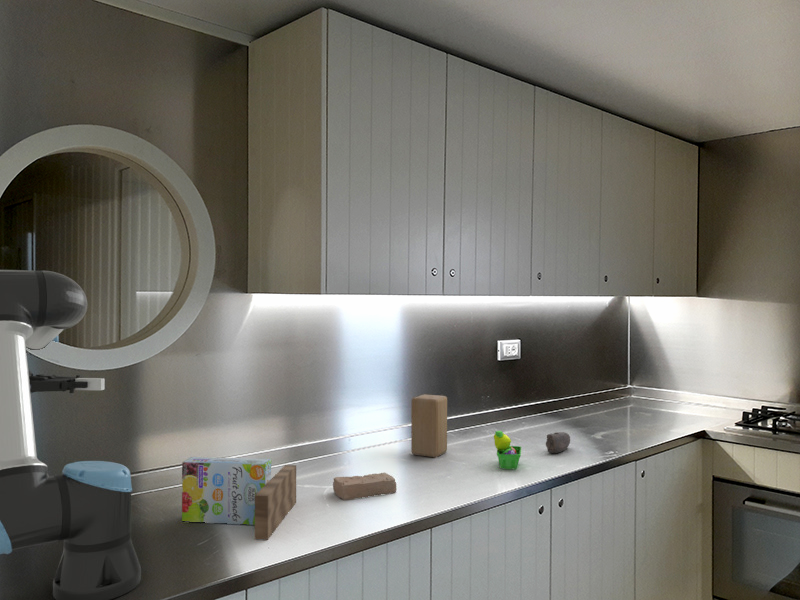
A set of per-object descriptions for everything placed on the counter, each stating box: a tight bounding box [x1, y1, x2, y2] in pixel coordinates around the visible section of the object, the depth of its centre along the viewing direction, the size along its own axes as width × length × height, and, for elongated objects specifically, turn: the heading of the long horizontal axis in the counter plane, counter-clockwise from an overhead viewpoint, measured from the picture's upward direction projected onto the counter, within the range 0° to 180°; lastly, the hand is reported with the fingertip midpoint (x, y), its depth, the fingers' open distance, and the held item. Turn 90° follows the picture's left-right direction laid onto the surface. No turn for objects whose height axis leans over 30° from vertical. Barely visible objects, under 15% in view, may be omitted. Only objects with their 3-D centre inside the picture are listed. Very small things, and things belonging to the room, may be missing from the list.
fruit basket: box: [493, 430, 522, 470], centre depth 207 cm, size 11×9×11 cm
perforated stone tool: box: [545, 431, 571, 454], centre depth 226 cm, size 15×5×7 cm, turn 137°
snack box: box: [181, 456, 272, 526], centre depth 155 cm, size 21×6×15 cm, turn 84°
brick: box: [332, 472, 397, 501], centre depth 177 cm, size 16×8×5 cm, turn 116°
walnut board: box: [254, 464, 297, 541], centre depth 156 cm, size 26×3×10 cm, turn 175°
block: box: [410, 393, 448, 458], centre depth 222 cm, size 10×10×20 cm
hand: (102, 384), depth 151 cm, fingers closed
